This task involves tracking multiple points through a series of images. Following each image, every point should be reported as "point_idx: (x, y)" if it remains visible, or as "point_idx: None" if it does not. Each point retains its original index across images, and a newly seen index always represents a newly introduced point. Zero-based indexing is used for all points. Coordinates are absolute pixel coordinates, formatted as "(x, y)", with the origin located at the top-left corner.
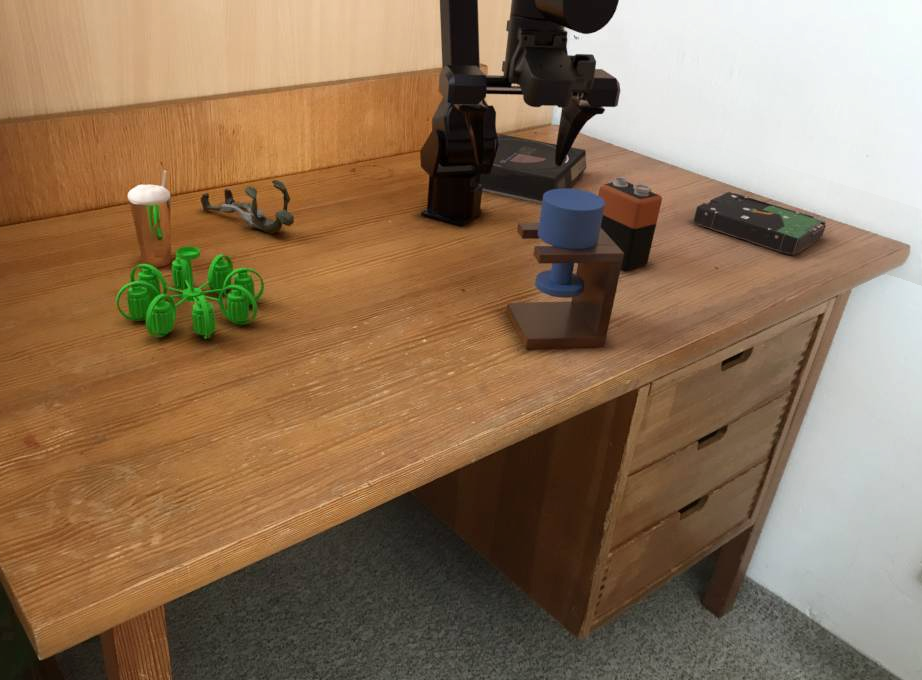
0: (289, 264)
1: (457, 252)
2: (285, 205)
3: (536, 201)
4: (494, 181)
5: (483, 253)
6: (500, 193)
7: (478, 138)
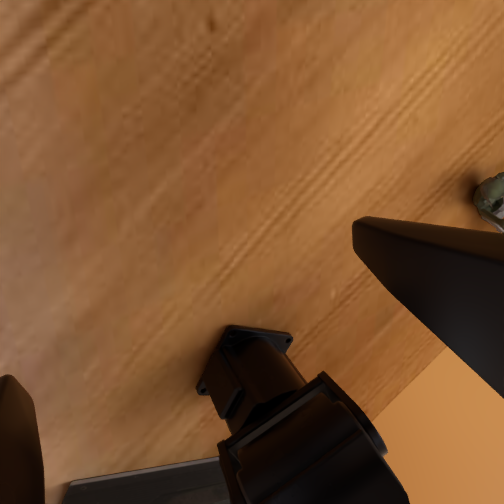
0: (477, 85)
1: (229, 219)
2: (498, 217)
3: (101, 477)
4: (187, 481)
5: (180, 233)
6: (169, 466)
7: (487, 242)
